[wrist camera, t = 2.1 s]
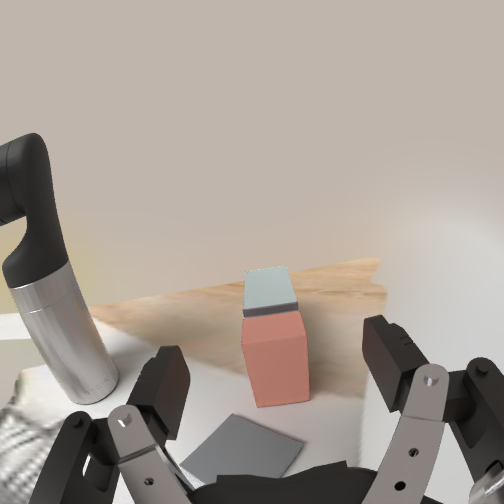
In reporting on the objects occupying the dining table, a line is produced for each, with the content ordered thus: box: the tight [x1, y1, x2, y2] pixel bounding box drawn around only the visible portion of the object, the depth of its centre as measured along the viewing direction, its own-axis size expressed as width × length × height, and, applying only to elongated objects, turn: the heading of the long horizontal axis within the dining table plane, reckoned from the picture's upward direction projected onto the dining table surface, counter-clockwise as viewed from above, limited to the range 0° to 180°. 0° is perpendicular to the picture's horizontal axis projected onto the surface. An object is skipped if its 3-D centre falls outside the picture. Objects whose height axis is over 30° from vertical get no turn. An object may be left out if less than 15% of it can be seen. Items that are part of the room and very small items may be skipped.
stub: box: [241, 311, 310, 407], centre depth 25 cm, size 4×6×9 cm
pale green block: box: [243, 266, 298, 319], centre depth 33 cm, size 11×6×9 cm, turn 0°
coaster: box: [179, 413, 303, 484], centre depth 18 cm, size 8×8×1 cm
